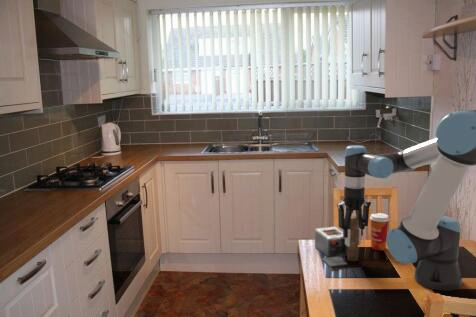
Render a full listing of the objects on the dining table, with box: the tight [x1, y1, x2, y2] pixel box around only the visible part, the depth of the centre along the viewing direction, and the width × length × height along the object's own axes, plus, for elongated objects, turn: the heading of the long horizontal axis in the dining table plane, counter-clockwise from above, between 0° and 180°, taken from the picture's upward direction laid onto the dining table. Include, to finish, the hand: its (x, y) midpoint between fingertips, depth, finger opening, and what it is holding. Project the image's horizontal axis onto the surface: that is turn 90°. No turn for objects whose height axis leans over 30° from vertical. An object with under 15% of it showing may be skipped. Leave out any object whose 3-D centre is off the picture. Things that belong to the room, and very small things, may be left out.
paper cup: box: [369, 212, 390, 251], centre depth 182 cm, size 8×8×14 cm
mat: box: [321, 256, 348, 268], centre depth 170 cm, size 7×7×1 cm
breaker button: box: [327, 234, 337, 246], centre depth 180 cm, size 4×4×3 cm
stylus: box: [346, 215, 359, 262], centre depth 171 cm, size 4×4×17 cm
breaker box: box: [314, 225, 347, 258], centre depth 180 cm, size 12×9×8 cm
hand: (352, 244), depth 171 cm, fingers closed on stylus, 4 cm apart
